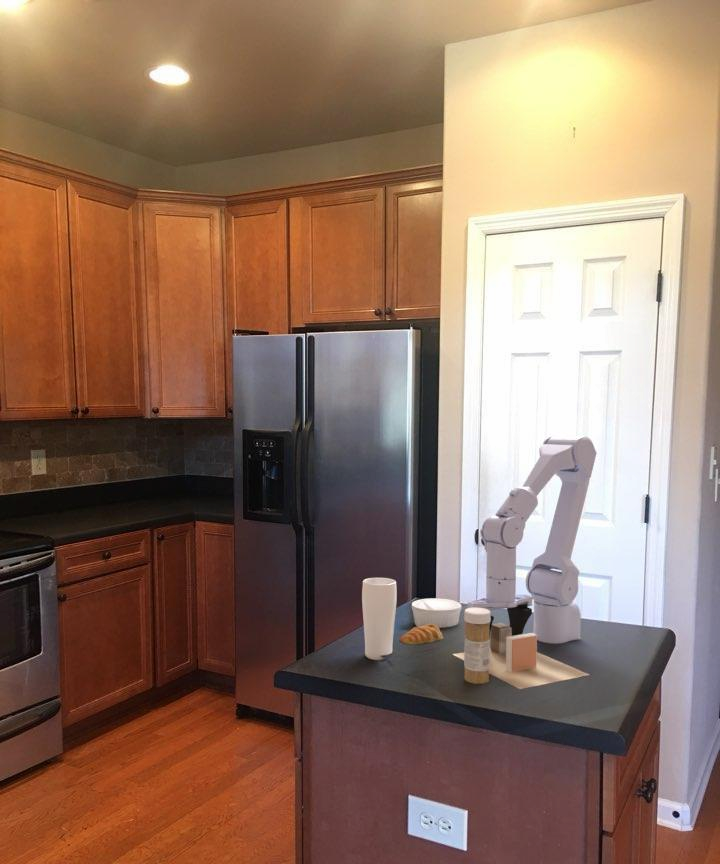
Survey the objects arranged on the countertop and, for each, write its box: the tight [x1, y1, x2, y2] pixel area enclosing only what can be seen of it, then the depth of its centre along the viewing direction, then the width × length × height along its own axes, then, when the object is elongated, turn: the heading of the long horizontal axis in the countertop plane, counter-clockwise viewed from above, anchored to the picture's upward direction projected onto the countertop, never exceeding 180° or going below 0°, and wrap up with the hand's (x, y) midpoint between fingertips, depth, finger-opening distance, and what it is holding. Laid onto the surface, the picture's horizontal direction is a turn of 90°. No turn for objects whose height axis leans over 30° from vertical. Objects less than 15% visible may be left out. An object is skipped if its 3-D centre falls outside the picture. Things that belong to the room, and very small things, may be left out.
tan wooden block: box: [490, 622, 512, 654], centre depth 140 cm, size 3×3×5 cm
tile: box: [506, 632, 538, 672], centre depth 130 cm, size 6×2×6 cm, turn 117°
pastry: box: [399, 624, 444, 645], centre depth 148 cm, size 9×7×4 cm
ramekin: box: [411, 597, 462, 629], centre depth 161 cm, size 11×11×5 cm
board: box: [452, 647, 590, 690], centre depth 133 cm, size 16×20×1 cm
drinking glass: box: [361, 577, 398, 661], centre depth 140 cm, size 7×7×15 cm
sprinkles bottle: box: [463, 607, 492, 685], centre depth 125 cm, size 5×5×13 cm
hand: (500, 645), depth 141 cm, fingers open, 7 cm apart
